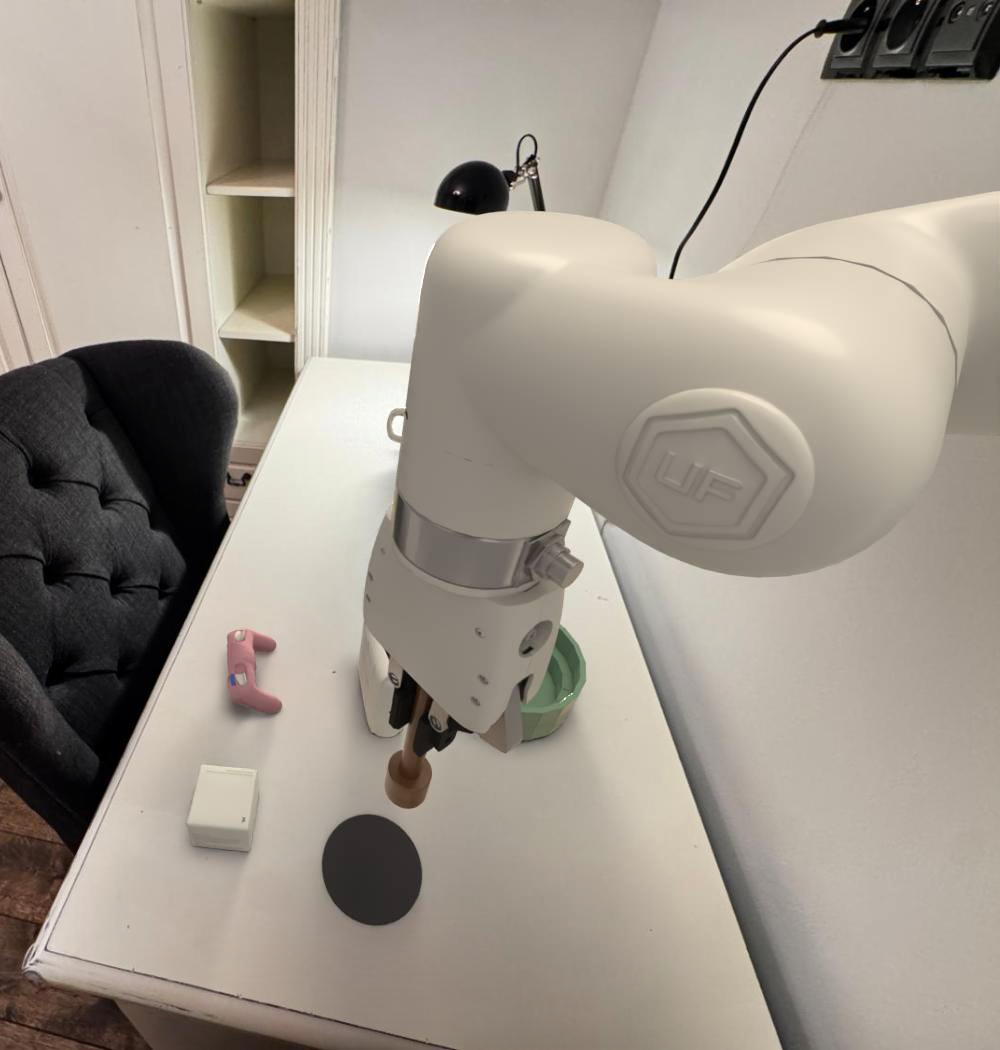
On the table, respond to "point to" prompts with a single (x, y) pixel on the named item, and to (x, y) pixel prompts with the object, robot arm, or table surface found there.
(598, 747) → the table surface
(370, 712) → the photo printer
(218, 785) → the small box
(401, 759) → the pestle
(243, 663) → the video game controller
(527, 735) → the bowl
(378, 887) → the coaster
